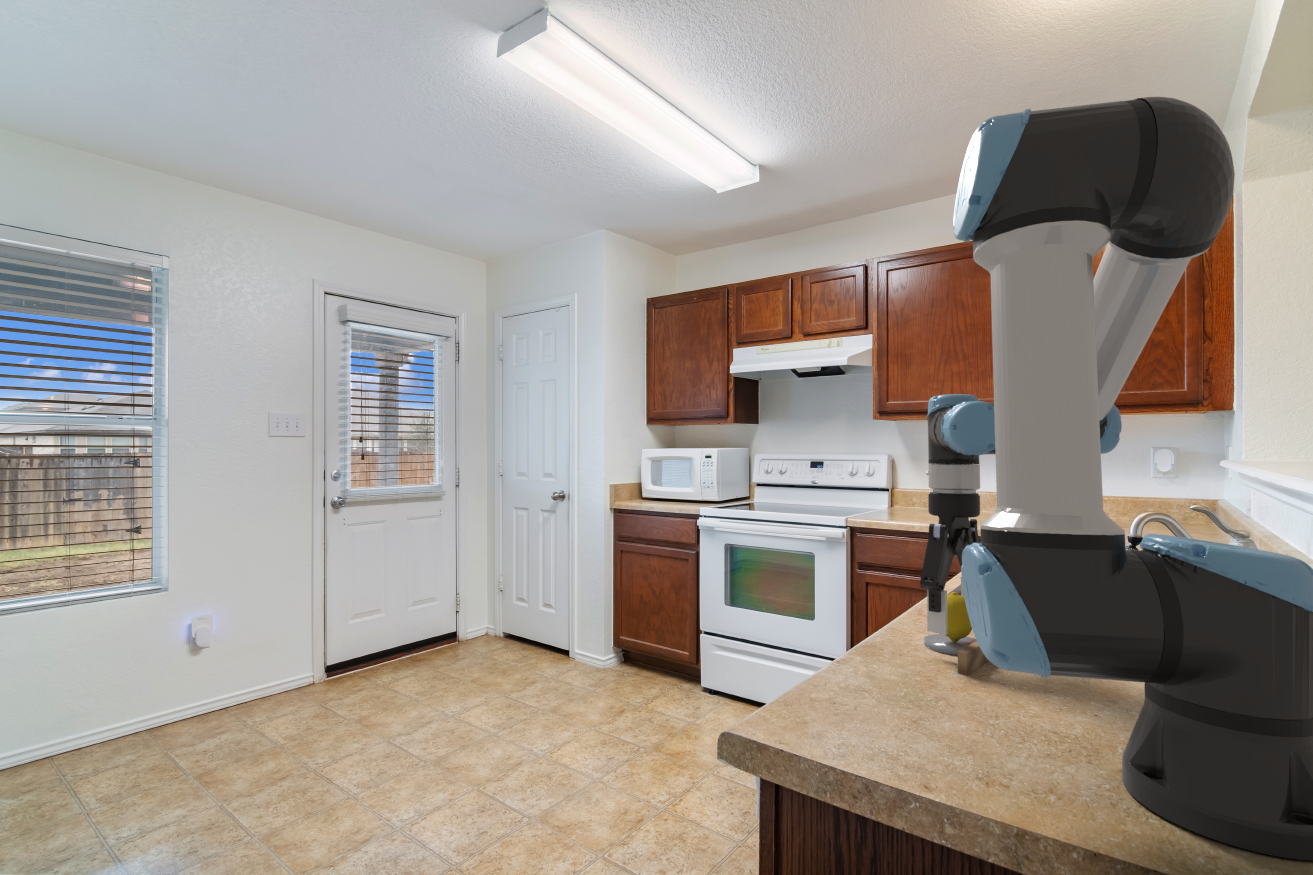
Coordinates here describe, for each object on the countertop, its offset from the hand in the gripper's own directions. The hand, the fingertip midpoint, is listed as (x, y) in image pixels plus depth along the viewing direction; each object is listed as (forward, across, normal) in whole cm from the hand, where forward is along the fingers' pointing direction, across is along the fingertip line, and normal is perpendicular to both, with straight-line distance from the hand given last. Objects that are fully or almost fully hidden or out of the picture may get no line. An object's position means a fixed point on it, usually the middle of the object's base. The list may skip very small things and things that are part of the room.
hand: (954, 624), depth 101 cm
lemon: (+3, 0, 0) cm, 3 cm away
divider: (+4, +3, +6) cm, 7 cm away
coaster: (+4, 0, 0) cm, 4 cm away
